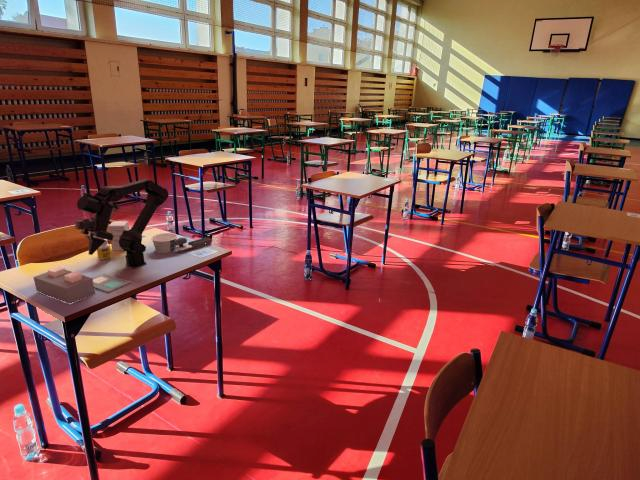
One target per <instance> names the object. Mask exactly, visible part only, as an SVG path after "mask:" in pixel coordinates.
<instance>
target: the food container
mask: <svg viewBox="0 0 640 480" xmlns="http://www.w3.org/2000/svg"><path fill="white" fill-rule="evenodd" d="M150 239H151V241H152V244H153V246H154V250H155V251H156V253H159V254H167V253H172V252H175V251H176V249H175V247H177V246H175V245H174V242H175V241H176V240H177V239H178V234H176V233H173V232H164V233H163V232H162V233H158V234H155V235H153V236H152V237H151V238H150Z"/></svg>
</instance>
